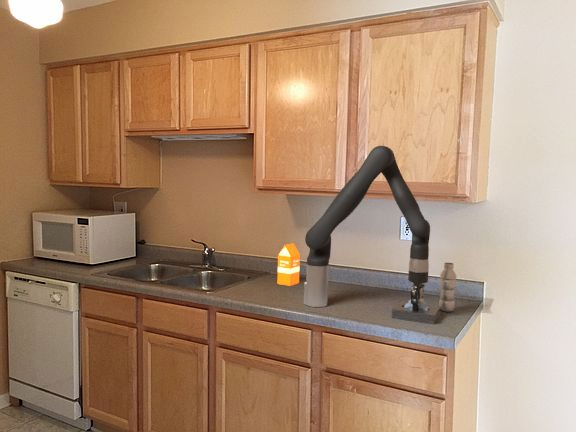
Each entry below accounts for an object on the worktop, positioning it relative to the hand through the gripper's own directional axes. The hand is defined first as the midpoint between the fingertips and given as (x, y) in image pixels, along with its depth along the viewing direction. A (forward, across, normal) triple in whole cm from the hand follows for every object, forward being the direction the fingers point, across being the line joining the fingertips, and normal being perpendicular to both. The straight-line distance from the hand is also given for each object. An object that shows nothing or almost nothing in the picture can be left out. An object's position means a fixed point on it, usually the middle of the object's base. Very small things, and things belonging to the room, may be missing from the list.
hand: (416, 312), depth 194 cm
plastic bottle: (+2, -15, +9) cm, 18 cm away
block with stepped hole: (+2, 0, 0) cm, 2 cm away
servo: (+2, 0, 0) cm, 2 cm away
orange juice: (+2, -25, -70) cm, 74 cm away
